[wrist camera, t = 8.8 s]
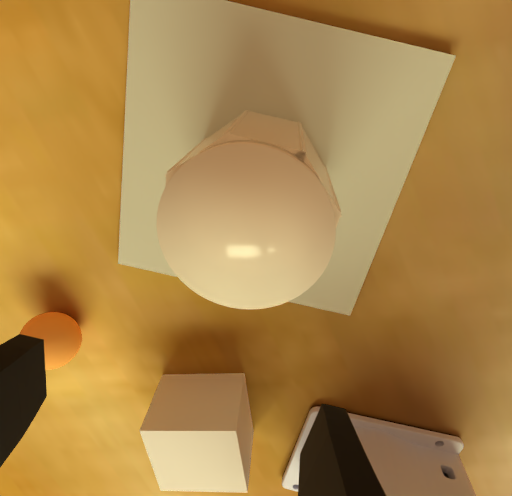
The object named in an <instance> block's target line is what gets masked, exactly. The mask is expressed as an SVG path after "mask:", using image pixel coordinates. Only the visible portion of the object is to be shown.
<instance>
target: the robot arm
mask: <svg viewBox="0 0 512 496" xmlns="http://www.w3.org/2000/svg"><path fill="white" fill-rule="evenodd" d="M46 396H47V394H46V374H45V353H44V339H39V338H35V337H31V336H26V335H22V334H19V335H17V336H16V337H14V338H12V339H10V340H8V341H7V342H5V343H3V344H1V345H0V467H1V466H2V464H3V463H4V461H5V460H6V459H7V457H8V456H9V455H10V453H11V452H12V451H13V449H14V448H15V447H16V445H17V444H18V442H19V441H20V440H21V438H22V437H23V435H24V434H25V432H26V430H27V429H28V427H29V426H30V424H31V422H32V421H33V419H34V417H35V416H36V414H37V412H38V410H39V409H40V407H41V405H42V403H43V402H44V400H45V398H46ZM463 447H464V444H463V442H462V440H461V439H460V438H459V437H456V436H452V435H447V434H442V433H438V432H433V431H429V430H424V429H420V428H415V427H410V426H406V425H401V424H397V423H392V422H388V421H383V420H379V419H374V418H369V417H365V416H360V415H356V414H351V413H347V411H346V410H345V409H343V408H339V407H334V406H330V405H326V404H322V405H321V407H318V406H316V407H313V408H311V410H310V411H309V414H308V416H307V419H306V421H305V424H304V426H303V429H302V431H301V433H300V436H299V438H298V441H297V443H296V446H295V448H294V451H293V453H292V456H291V458H290V461H289V463H288V466H287V468H286V471H285V473H284V475H283V478H282V486H283V487H284V488H286V489H289V490H294V491H298V496H476V494H475V492H474V490H473V487H472V485H471V483H470V480H469V478H468V476H467V473H466V471H465V469H464V466H463V464H462V462H461V459H460V457H459V453H460V452H461V451H462V449H463Z"/></svg>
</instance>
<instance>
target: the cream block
mask: <svg viewBox="0 0 512 496" xmlns="http://www.w3.org/2000/svg"><path fill="white" fill-rule="evenodd" d="M253 432H254V430H253V424H252V417H251V411H250V405H249V398H248V392H247V386H246V379H245V373H216V374H163V375H162V377H161V380H160V382H159V385H158V387H157V390H156V392H155V394H154V397H153V399H152V402H151V404H150V407H149V409H148V412H147V414H146V416H145V419H144V421H143V424H142V426H141V429H140V433H141V436H142V439H143V442H144V445H145V448H146V450H147V453H148V456H149V459H150V462H151V465H152V467H153V470H154V473H155V476H156V479H157V482H158V485H159V487H160V490H161V491H199V492H245V493H247V492H248V482H249V472H250V462H251V452H252V442H253Z"/></svg>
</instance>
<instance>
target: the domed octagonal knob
mask: <svg viewBox="0 0 512 496" xmlns="http://www.w3.org/2000/svg"><path fill="white" fill-rule="evenodd" d="M165 177H166V185H165V189H164V191H163V193H162V196H161V199H160V202H159V205H158V211H157V223H156V227H157V236H158V240H159V244H160V248H161V250H162V253H163V255H164V257H165V259H166V261H167V263H168V265H169V266H170V268H171V269H172V270H173V272H174V273H175V275H176V276H177V277H178V278H179V279H180V280H181V281H182V282H183V283H184V284H185V285H186V286H188V287H189V288H190V289H191V290H193V291H194V292H195V293H197V294H198V295H200V296H202V297H204V298H206V299H207V300H210V301H212V302H215V303H217V304H220V305H223V306H227V307H232V308H237V309H263V308H270V307H274V306H277V305H281V304H283V303H286V302H288V301H291V300H292V299H294V298H296V297H298V296H300V295H301V294H302V293H304V292H305V291H307V290H308V289H309V288H310V287H311V286H312V285H313V284H314V283H315V282H316V281H317V280H318V279H319V277H320V276H321V275H322V274H323V272H324V270H325V269H326V267H327V265H328V263H329V261H330V258H331V256H332V253H333V249H334V245H335V237H336V227H337V224H338V221H339V218H340V217H342V215H341V209H340V206H339V203H338V200H337V197H336V195H335V192H334V189H333V186H332V183H331V180H330V177H329V174H328V171H327V168H326V166H324V165H323V163H322V161H321V159H320V158H319V156H318V154H317V152H316V151H315V149H314V147H313V145H312V144H311V142H310V140H309V138H308V137H307V135H306V133H305V131H304V129H303V128H302V124H301V123H300V122H299V121H298V122H294V121H290V120H286V119H282V118H278V117H273V116H269V115H265V114H261V113H256V112H252V111H250V110H245V111H244V112H243V113H242V114H241V115H240V116H239V117H237V118H236V119H234V120H233V121H231V122H230V123H228V124H227V125H225V126H224V127H223V128H221V129H220V130H218V131H217V132H215V133H214V134H212V135H211V136H209V137H208V138H204V139H203V140H202V141H201V142H200V143H199V144H198V145H196V146H195V147H194V148H193V149H192V150H191V151H190V152H189V153H187V154H186V155H185V156H184V157H183V158H182V159H181V160H180V161H178V162H177V163H176V164H175V165H174V166H173V167H172V168H171V169H169V170H168V171H167V174H166V175H165Z"/></svg>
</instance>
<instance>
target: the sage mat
mask: <svg viewBox="0 0 512 496" xmlns="http://www.w3.org/2000/svg"><path fill="white" fill-rule="evenodd" d="M455 57H456V56H455V55H451V54H447V53H443V52H439V51H435V50H430V49H426V48H422V47H418V46H414V45H410V44H405V43H401V42H397V41H393V40H389V39H385V38H381V37H376V36H372V35H368V34H364V33H360V32H356V31H351V30H347V29H343V28H339V27H335V26H331V25H326V24H322V23H318V22H314V21H310V20H306V19H301V18H297V17H293V16H289V15H285V14H281V13H277V12H272V11H268V10H264V9H260V8H256V7H252V6H247V5H243V4H239V3H235V2H231V1H227V0H130V18H129V39H128V61H127V82H126V104H125V125H124V147H123V168H122V190H121V211H120V232H119V254H118V264H122V265H127V266H131V267H136V268H140V269H145V270H149V271H154V272H158V273H162V274H167V275H171V276H176V275H175V273H174V272H173V270H172V269H171V268H170V266H169V265H168V263H167V261H166V259H165V257H164V255H163V253H162V250H161V248H160V244H159V240H158V236H157V227H156V223H157V211H158V205H159V202H160V199H161V196H162V193H163V191H164V189H165V185H166V177H165V175H166V174H167V171H168V170H169V169H171V168H172V167H173V166H174V165H175V164H176V163H177V162H178V161H180V160H181V159H182V158H183V157H184V156H185V155H186V154H187V153H189V152H190V151H191V150H192V149H193V148H194V147H195V146H196V145H198V144H199V143H200V142H201V141H202V140H203V139H204V138H208V137H209V136H211V135H212V134H214V133H215V132H217V131H218V130H220V129H221V128H223V127H224V126H225V125H227V124H228V123H230V122H231V121H233V120H234V119H236V118H237V117H239V116H240V115H241V114H242V113H243V112H244V111H245V110H250V111H252V112H256V113H261V114H265V115H269V116H273V117H278V118H282V119H286V120H290V121H294V122H298V121H299V122H300V123H301V124H302V128H303V129H304V131H305V133H306V135H307V137H308V138H309V140H310V142H311V144H312V145H313V147H314V149H315V151H316V152H317V154H318V156H319V158H320V159H321V161H322V163H323V165H324V166H326V168H327V171H328V174H329V177H330V180H331V183H332V186H333V189H334V192H335V195H336V197H337V200H338V203H339V206H340V209H341V215H342V217H340V218H339V221H338V224H337V227H336V237H335V245H334V249H333V253H332V256H331V258H330V261H329V263H328V265H327V267H326V269H325V270H324V272H323V274H322V275H321V276H320V277H319V279H318V280H317V281H316V282H315V283H314V284H313V285H312V286H311V287H310V288H309V289H308V290H307V291H305V292H304V293H302V294H301V295H300V296H298V297H296V298H294V299H292V300H291V301H288V302H292V303H296V304H300V305H305V306H309V307H314V308H318V309H323V310H327V311H332V312H336V313H340V314H345V315H349V316H350V315H351V312H352V310H353V307H354V305H355V302H356V300H357V297H358V295H359V293H360V290H361V288H362V285H363V283H364V280H365V278H366V275H367V273H368V270H369V268H370V266H371V263H372V261H373V258H374V256H375V253H376V251H377V248H378V246H379V243H380V241H381V239H382V236H383V234H384V231H385V229H386V226H387V224H388V221H389V219H390V216H391V214H392V212H393V209H394V207H395V204H396V202H397V199H398V197H399V194H400V192H401V189H402V187H403V185H404V182H405V180H406V177H407V175H408V172H409V170H410V167H411V165H412V162H413V160H414V158H415V155H416V153H417V150H418V148H419V145H420V143H421V140H422V138H423V135H424V133H425V131H426V128H427V126H428V123H429V121H430V118H431V116H432V113H433V111H434V108H435V106H436V104H437V101H438V99H439V96H440V94H441V91H442V89H443V86H444V84H445V81H446V79H447V77H448V74H449V72H450V69H451V67H452V64H453V62H454V59H455ZM176 277H177V276H176Z"/></svg>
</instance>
